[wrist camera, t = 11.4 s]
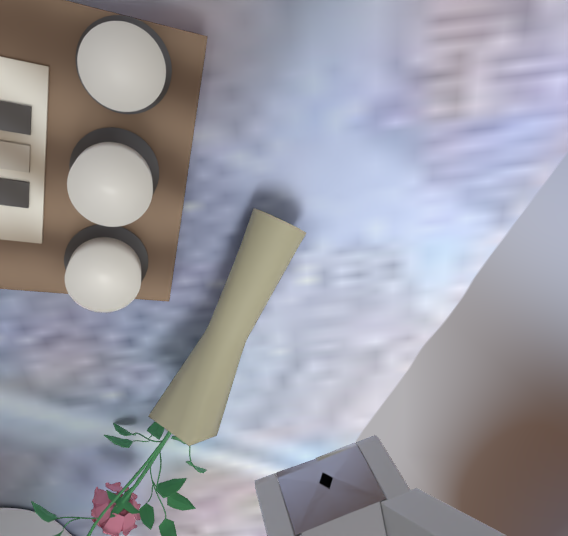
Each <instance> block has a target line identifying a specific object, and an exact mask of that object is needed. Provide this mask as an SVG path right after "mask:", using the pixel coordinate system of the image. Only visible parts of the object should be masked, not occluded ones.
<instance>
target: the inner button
mask: <svg viewBox="0 0 568 536" xmlns="http://www.w3.org/2000/svg"><path fill="white" fill-rule="evenodd" d="M65 286H66V289H67V292H68V294H69V295H70V297H71V298H72V299H73V300H74V301H75V302H76V303H77V304H78V305H80V306H82V307H83V308H85V309H88V310H91V311H95V312H113V311H117V310H120V309H122V308H124V307H126V306H127V305H129V304H130V303H131V302H132V301H133V300H134V299H135V297H136V296H137V294H138V292H139V290H140V286H141V263H140V260H139V257H138V255H137V254H136V252H135V251H134V250H133V249H132V248H131V247H130V246H129V245H127V244H126V243H124V242H122V241H120V240H118V239H114V238H109V237H99V238H94V239H91V240H88V241H86V242H84V243H82V244H81V245H80V246H79V247H77V249H76V250H75V251H74V252H73V254H72V256H71V258H70V261H69V263H68V266H67V269H66V272H65Z"/></svg>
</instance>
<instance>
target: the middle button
mask: <svg viewBox="0 0 568 536" xmlns="http://www.w3.org/2000/svg"><path fill="white" fill-rule="evenodd" d="M67 190H68V194H69V198H70V200H71V202H72V204H73V205H74V207H75V208H76V210H77V211H78V212H79V213H80V214H81V215H82V216H84V217H85V218H86V219H88V220H89V221H91V222H93V223H96V224H99V225H102V226H107V227H119V226H124V225H127V224H130V223H132V222H134V221H136V220H137V219H139V218H140V217H141V216H142V215H143V214H144V213H145V212H146V210H147V209H148V207H149V205H150V203H151V200H152V195H153V182H152V174H151V171H150V168H149V166H148V164H147V162H146V161H145V160H144V158H143V157H142V156H141V155H140V154H139V153H138V152H137V151H135V150H134V149H132V148H130V147H128V146H126V145H124V144H121V143H116V142H102V143H98V144H94V145H92V146H90V147H88V148H87V149H85V150H84V151H83V152H82V153H81V154H80V155H79V156H78V158H77V159H76V161H75V162H74V164H73V165H72V167H71V169H70V171H69V174H68V179H67Z"/></svg>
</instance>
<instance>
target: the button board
mask: <svg viewBox="0 0 568 536" xmlns="http://www.w3.org/2000/svg"><path fill="white" fill-rule="evenodd" d="M108 21H124V22H128V23H131V24H134V25H136V26H138V27H140V28H141V29H143V30H144V31H146V32H147V33H148V34H149V35H150V36H151V37H152V38H153V39H154V40H155V42H156V43H157V44H158V46H159V48H160V50H161V52H162V54H163V57H164V60H165V65H166V78H165V83H164V87H163V89H162V91H161V93H160V95H159V96H158V98H157V99H156V100H155V101H154V102H153V103H152V104H150V105H149V106H147V107H146V108H143V109H141V110H138V111H133V112H121V111H116V110H113V109H110V108H108V107H106V106H104V105H102V104H101V103H99V102H98V101H97V100H96V99H94V98H93V97H92V96H91V95H90V93H89V92H88V91H87V89H86V88H85V86H84V84H83V83H82V80H81V78H80V75H79V71H78V65H77V56H78V50H79V47H80V44H81V42H82V40H83V38H84V37H85V35H86V34H87V33H88V32H89V31H90V30H91V29H92V28H94V27H95V26H97V25H99V24H101V23H104V22H108ZM206 43H207V36H204V35H200V34H196V33H192V32H188V31H184V30H180V29H176V28H172V27H168V26H164V25H160V24H156V23H153V22H149V21H145V20H141V19H137V18H133V17H130V16H125V15H121V14H117V13H113V12H109V11H105V10H101V9H97V8H93V7H89V6H85V5H81V4H78V3H74V2H70V1H66V0H0V289H12V290H25V291H38V292H52V293H65V294H68V292H67V289H66V286H65V272H66V269H67V266H68V263H69V261H70V258H71V256H72V254H73V252H74V251H75V250H76V249H77V247H79V246H80V245H81V244H82V243H84V242H86V241H88V240H91V239H94V238H99V237H109V238H114V239H118V240H120V241H122V242H124V243H126V244H127V245H129V246H130V247H131V248H132V249H133V250H134V251H135V252H136V254H137V255H138V257H139V260H140V263H141V286H140V290H139V292H138V294H137V296H136V297H135V299H145V300H158V301H169V299H170V292H171V285H172V278H173V271H174V264H175V258H176V251H177V244H178V237H179V230H180V223H181V216H182V209H183V202H184V195H185V188H186V182H187V175H188V168H189V161H190V154H191V147H192V140H193V133H194V126H195V119H196V112H197V106H198V99H199V92H200V85H201V78H202V71H203V64H204V57H205V50H206ZM102 142H116V143H121V144H124V145H126V146H128V147H130V148H132V149H134V150H135V151H137V152H138V153H139V154H140V155H141V156H142V157H143V158H144V160H145V161H146V162H147V164H148V166H149V168H150V171H151V174H152V182H153V195H152V200H151V203H150V205H149V207H148V209H147V210H146V212H145V213H144V214H143V215H142V216H141V217H140V218H139V219H137V220H136V221H134V222H132V223H130V224H127V225H124V226H119V227H107V226H102V225H99V224H96V223H93V222H91V221H89V220H88V219H86V218H85V217H84V216H82V215H81V214H80V213H79V212H78V211H77V210H76V208H75V207H74V205H73V204H72V202H71V200H70V198H69V194H68V190H67V179H68V174H69V171H70V169H71V167H72V165H73V164H74V162H75V161H76V159H77V158H78V156H79V155H80V154H81V153H82V152H83V151H84V150H85V149H87V148H88V147H90V146H92V145H94V144H98V143H102Z"/></svg>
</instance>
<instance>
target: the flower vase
mask: <svg viewBox="0 0 568 536" xmlns="http://www.w3.org/2000/svg"><path fill="white" fill-rule="evenodd" d="M305 235H306V233H305V232H304V231H302V230H300V229H299V228H297V227H295V226H293V225H291V224H289V223H287V222H285V221H283V220H281V219H279V218H276V217H274V216H272V215H270V214H268V213H265V212H263V211H260V210H258V209H255V208H253V211H252V214H251V217H250V220H249V223H248V225H247V228H246V231H245V234H244V237H243V240H242V243H241V246H240V248H239V251H238V253H237V256H236V258H235V261H234V263H233V266H232V268H231V271H230V273H229V276H228V278H227V281H226V283H225V286H224V288H223V291H222V293H221V296H220V298H219V300H218V303H217V305H216V308H215V310H214V313H213V315H212V318H211V320H210V323H209V325H208V327H207V329H206V331H205V332H204V334H203V335H202V337H201V338H200V340H199V341H198V343H197V344H196V346H195V347H194V349H193V350H192V352H191V353H190V355H189V356H188V358H187V359H186V361H185V362H184V364H183V365H182V367H181V368H180V370H179V371H178V373H177V374H176V376H175V377H174V379H173V380H172V382H171V383H170V385H169V386H168V388H167V389H166V391H165V392H164V394H163V395H162V397H161V398H160V400H159V401H158V403H157V404H156V406H155V407H154V409H153V410H152V411H151V413H150V414H149V416H148V417H150V418H151V419H153V420H154V421H155V422H154V423H153V424H152V425H151V426H150V427H149V428H148V430H147V431H148V432H149V433H151V434H152V435H153V436H155V437H156V438H157V439H160V438H161V436H162V434H163V431H164V428H165V429H166V430H168V433H167V434H166V436H165V437H164V439H163V440H162V441H153V440H150V439H149V438H150V437H151V436H152V435H151V436H150V437H149V438H146V437H145V436H143V435H141V434H139V433H134V434H132V433H130V432H128V431H127V430H125V429H124V428H122V427H120V426H119V425H117V424H115V423H113V424H114V427H115V430H116V431H117V432H119V433H120V434H121V435H124V436H129V435H136V434H139V435H141V436H143V437H144V438H146V439H148V440H149V441H153V442H161V443H160V444H159V446H158V447H157V448H156V449H155V451H154V452H153V453H152V455H151V456H150V457H149V458H148V460H147V461H146V462H145V463H144V465H143V466H142V467H141V468H140V469H139V471H138V472H137V473H136V474H135V475H134V476H133V478H132V479H131V480H130V481H129V482H128V483H127V484H126V486H125V487H124V488H122V487H121V486H120V485H121V483H120V482H118V483H114V484H109V483H107V482H106V487H107V488H109V489H110V490H112V491H117V493H116V494H115V493H112V492H110V491H108V490H106V491H104V490H101V489H98V487H96V489H95V494H94V499H93V500H92V502H93V504H94V507H93V509H92V510H91V512H92V513H91V515H92V516H93V517H94V518H83V517H60V518H77V519H80V518H82V519H92V521H93V522H94V524H93V526H92V528H91V529H90V531H89V533H88V535H87V536H90V535H91V533H92V531H93V530H94V528H95V526H96V525H98V526H99V527H101V528H102V529H103V533H106V534H110V535H111V536H119V533H120V532H121V531H123V534H124V535H125V536H127V535H128V534H129V532H130V531H131V530H132V529H133V528H136V527H137V525H135V519H136V520H140V519H141V520H142V522H143V524H144V525H146V526H147V527H148V528H149V529H150V530H151V528H152V526H153V523H154V510H153V507H151V506H150V505H148V504H147V503H148V502H149V500H150V499H151V497H150V499H149V500H148V502H147V503H146V504H145V505H144V506H142V507H141V508H140V505H141V504H137V502H136V501H135V499H136V498H137V495H135V494H134V493H132V492H133V491H134V490H135V488H136V487H137V486H138V484H139V483H140V482H141V480H142V479H143V477H144V476H145V474H146V473H147V471H148V470H149V468H150V474H151V465H152V464H153V462H154V461H155V459H156V457H157V456H158V454H159V453H160V451H161V449H162V448H163V446H164V445H165V443H166V441H167V440H168V438H169V436H170V435H171V433H172V434H173V435H175V436H172V438H171V439H175V440H179V441H181V442H182V443H184V444H187V445H188V446H189V456H190V445H193V444H196V443H198V442H201V441H204V440H206V439H209V438H211V437H214V436H217V433H218V430H219V426H220V423H221V420H222V416H223V413H224V410H225V407H226V403H227V400H228V397H229V393H230V390H231V387H232V384H233V380H234V377H235V374H236V370H237V367H238V364H239V360H240V357H241V354H242V351H243V348H244V345H245V342H246V340H247V338H248V336H249V334H250V332H251V331H252V329H253V327H254V325H255V323H256V322H257V320H258V318H259V316H260V315H261V313H262V311H263V309H264V307H265V306H266V304H267V302H268V300H269V298H270V297H271V295H272V293H273V291H274V289H275V288H276V286H277V284H278V282H279V280H280V279H281V277H282V275H283V273H284V272H285V270H286V268H287V266H288V264H289V263H290V261H291V259H292V257H293V255H294V254H295V252H296V250H297V248H298V247H299V245H300V243H301V242H302V240H303V238H304V236H305ZM104 436H105V437H107V438H108V439H109V440H110V441H112V442H113V443H114V444H116V445H119V446H121V447H125V448H129V447H130V446H131V444H132V443H133V441H131V440H128V439H121V438H117V437H114V436H108V435H104ZM135 441H139V440H135ZM141 442H148V441H141ZM149 461H150V462H149ZM186 462H187V463H188V464H189V465H191V466H193V467H194V468H195V469H196V470H197V471H198V472H201V473H204V472H205V471H207V470H206V469H203V468H200V467H197V466H194V465H193V464H192V462H191V457H190V461H186ZM147 464H148V465H147ZM146 465H147V466H146ZM145 466H146V468H145ZM144 468H145V469H144ZM143 469H144V471H143V472H142V474H141V475H140V477H139V478H138V480H137V481H136V483H135V484H134V486H133V487H131V488H130V489H129V487H128V486H129V485H130V484H131V483H132V482H133V481H134V479H135V478H136V477H137V476H138V475H139V474H140V472H141V471H142V470H143ZM160 472H161V453H160ZM160 472H159V476H160ZM159 476H158V481H159ZM151 479H152V475H151ZM186 479H187V478H182V479H172V480H169V481H166V482H163V483H159V484H158V481H157V486H156V485H155V483H154V482H153V480H152V483H153V485H152V491H153V486H154V485H155V486H156V489H155V486H154V489H155V491H156V494H157V492H158V493H159V494H160V495H161V496H162V497H163V498H165V497H168V498H167V505H169V506H170V507H172V508H175V509H179V510H189V509H196V508H195V507H194V506H193V505H192V504H191V502H190V501H189V500H188V499H187V498H185V497H184V496H182V495H180V494H179V493H177V491H178V490H179V489H180V488H181V486H182V485H183V483H184V482H185V481H186ZM124 491H125V493H124V494H122V493H123V492H124ZM120 496H121V497H120ZM151 496H152V493H151ZM157 496H158V494H157ZM130 498H131V499H132V500H131V499H130ZM158 498H159V496H158ZM159 500H160V498H159ZM160 502H161V500H160ZM31 503H32V505H33V508H34V510H35V513H36V514H37V515H38V516H39V517H40V518H41V519H42V520H44V521H46V522H48V523H49V522H51V521H53V520H55V519H60V518H57V517H56V515H54V514H52V513H50V512H48V511H47V510H46V509H44V508H43V507H41V506H40V505H38V504H36V503H34V502H32V501H31ZM161 504H162V502H161ZM162 506H163V504H162ZM139 508H140V509H139ZM163 509H164V506H163ZM164 512H165V509H164ZM73 520H76V519H73ZM73 520H71V521H73ZM71 521H69V522H71ZM69 522H68V523H69ZM68 523H67V524H68ZM67 524H66V525H67ZM66 525H65V526H66ZM65 526H64V528H65ZM64 528H63V529H64ZM159 530H160V534H161V536H177V534H176V529H175V525H174V522H173V521H171V520H168V519H166V512H165V519H164V521H163V522H162V523H161V524H160V526H159ZM63 531H64V530H63ZM63 531H61V532H60V533H58V534H56V535H54V536H61V534H62V532H63Z"/></svg>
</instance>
